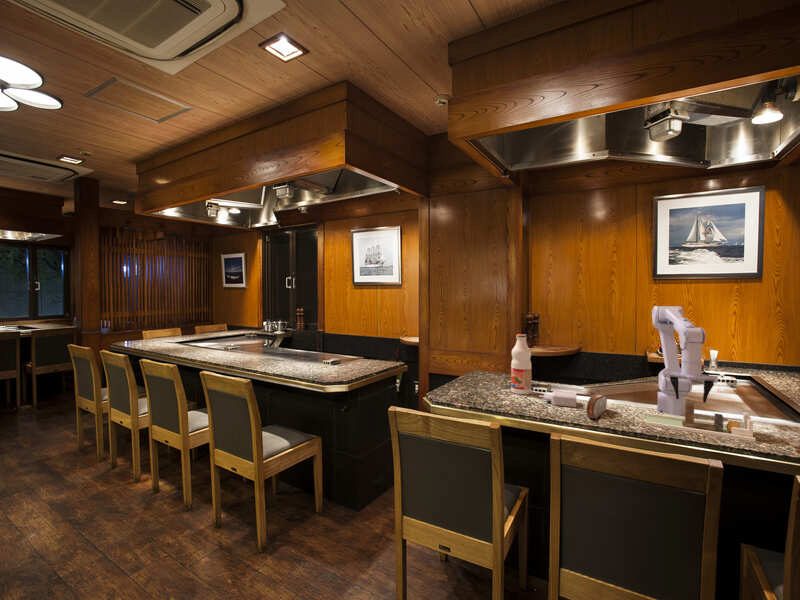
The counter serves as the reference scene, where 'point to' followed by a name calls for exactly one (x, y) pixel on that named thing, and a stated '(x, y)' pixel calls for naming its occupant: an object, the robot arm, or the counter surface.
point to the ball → (730, 425)
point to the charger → (561, 398)
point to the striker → (690, 422)
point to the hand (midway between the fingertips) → (690, 400)
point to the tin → (596, 405)
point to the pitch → (676, 423)
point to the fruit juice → (521, 366)
